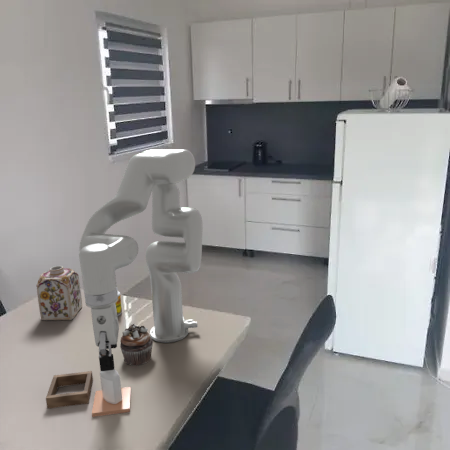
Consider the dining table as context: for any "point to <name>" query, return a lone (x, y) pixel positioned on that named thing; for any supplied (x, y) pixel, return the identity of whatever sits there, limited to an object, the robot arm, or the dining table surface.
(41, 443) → the dining table surface
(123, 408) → the terracotta tile
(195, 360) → the dining table surface
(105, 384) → the eye dropper bottle
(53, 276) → the decorative jar
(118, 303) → the supplement bottle
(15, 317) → the dining table surface
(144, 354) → the cupcake
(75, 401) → the walnut holder
